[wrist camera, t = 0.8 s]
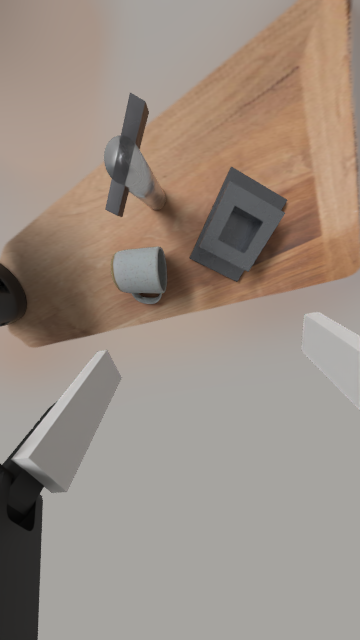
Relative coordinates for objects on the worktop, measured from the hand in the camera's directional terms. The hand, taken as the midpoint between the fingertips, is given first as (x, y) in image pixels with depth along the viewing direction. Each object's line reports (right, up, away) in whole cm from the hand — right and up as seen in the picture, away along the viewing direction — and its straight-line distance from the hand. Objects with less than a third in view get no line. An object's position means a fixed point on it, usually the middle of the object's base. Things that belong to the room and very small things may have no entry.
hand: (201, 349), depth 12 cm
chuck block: (+8, +17, +18) cm, 26 cm away
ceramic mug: (-8, +11, +22) cm, 26 cm away
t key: (-5, +22, +16) cm, 28 cm away
